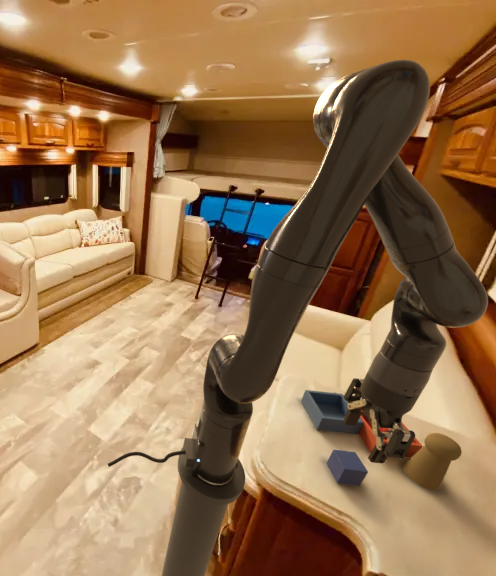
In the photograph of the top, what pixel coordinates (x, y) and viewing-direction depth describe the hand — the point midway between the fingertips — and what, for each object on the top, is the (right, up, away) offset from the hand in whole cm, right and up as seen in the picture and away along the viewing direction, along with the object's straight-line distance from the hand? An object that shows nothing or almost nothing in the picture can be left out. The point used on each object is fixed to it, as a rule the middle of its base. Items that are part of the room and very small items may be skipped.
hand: (361, 441), depth 63 cm
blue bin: (+6, -3, +18) cm, 19 cm away
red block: (+15, -5, +13) cm, 20 cm away
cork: (+17, -10, +5) cm, 20 cm away
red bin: (+15, -5, +13) cm, 20 cm away
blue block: (-1, -9, +4) cm, 10 cm away
